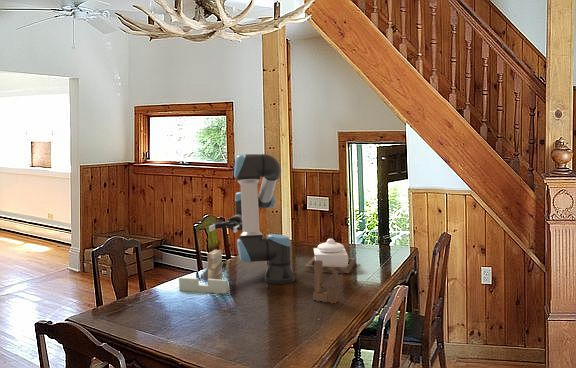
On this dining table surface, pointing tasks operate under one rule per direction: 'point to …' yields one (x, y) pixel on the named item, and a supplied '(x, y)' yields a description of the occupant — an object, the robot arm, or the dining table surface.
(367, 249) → the dining table surface
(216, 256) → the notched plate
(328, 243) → the butter dish
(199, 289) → the notched rail
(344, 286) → the dining table surface
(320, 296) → the wooden block
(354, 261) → the dish tray rim
